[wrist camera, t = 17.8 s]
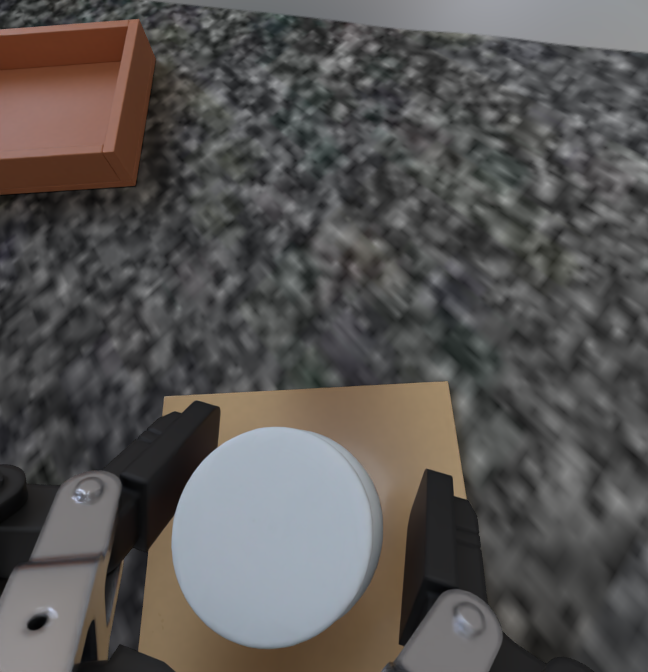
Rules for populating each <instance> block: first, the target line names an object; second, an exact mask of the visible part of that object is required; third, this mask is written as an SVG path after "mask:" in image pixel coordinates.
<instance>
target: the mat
mask: <svg viewBox="0 0 648 672" xmlns="http://www.w3.org/2000/svg"><path fill="white" fill-rule="evenodd" d="M195 400H198V401H202V402H205V403H208V404H212V405H215V406H219V407H220V410H221V415H220V426H219V438H218V447H219V446H220V445H222V444H223V443H225V442H226V441H228V440H230V439H232V438H234V437H236V436H238V435H240V434H242V433H245V432H248V431H251V430H254V429H258V428H264V427H287V428H294V429H299V430H306V431H311V432H314V433H318V434H320V435H323V436H325V437H328V438H330V439H332V440H333V441H335V442H337V443H338V444H340V445H341V446H343V447H344V448H345V449H346V450H348V451H349V452H350V453H351V454H352V455H353V456H354V457H355V458H356V459H357V460H358V462H359V463H360V464H361V465H362V466H363V467H364V469H365V470H366V472H367V473H368V475H369V476H370V478H371V480H372V481H373V484H374V486H375V488H376V491H377V493H378V496H379V500H380V504H381V509H382V515H383V542H382V549H381V554H380V558H379V562H378V565H377V568H376V570H375V572H374V575H373V578H372V580H371V582H370V584H369V586H368V587H367V589H366V591H365V592H364V594H363V595H362V596H361V598H360V599H359V600H358V602H357V603H356V604H355V605H354V606H353V607H352V608H351V610H350V611H349V612H347V613H346V614H345V615H344V616H343V617H341V618H340V619H338V620H337V621H335V622H334V623H333V624H332V625H331V626H330V627H328V628H327V629H326V630H324V631H323V632H321V633H320V634H318V635H317V636H315V637H313V638H311V639H309V640H307V641H304V642H301V643H299V644H296V645H294V646H290V647H285V648H277V649H257V648H251V647H246V646H243V645H239V644H237V643H234V642H232V641H230V640H227V639H226V638H224V637H222V636H220V635H219V634H217V633H216V632H214V631H213V630H212V629H210V628H209V627H208V626H207V625H206V624H205V623H204V622H203V621H202V620H201V619H200V618H199V617H198V616H197V615H196V613H195V612H194V611H193V609H192V608H191V606H190V605H189V604H188V602H187V600H186V598H185V596H184V594H183V593H182V590H181V588H180V585H179V583H178V580H177V577H176V573H175V569H174V565H173V557H172V548H171V541H172V528H173V520H174V516H173V518H172V519H171V520H170V522H169V523H168V524H167V526H166V527H165V528H164V530H163V531H162V532H161V534H160V535H159V536H158V538H157V539H156V540H155V542H154V543H153V544H152V546H151V547H150V548H149V552H148V561H147V571H146V581H145V591H144V601H143V610H142V620H141V630H140V640H139V649H138V652H141V653H143V654H146V655H148V656H151V657H153V658H156V659H158V660H161V661H163V662H165V663H166V664H167V665H169V666H170V667H171V668H172V669H173V670H174V671H176V672H381V671H382V669H383V668H384V667H385V666H386V664H387V663H388V662H390V661H391V662H393V661H394V660H395V659H396V658H397V656H398V655H399V653H400V652H401V651H402V649H403V648H404V646H402V645H399V631H400V618H401V604H402V591H403V578H404V565H405V552H406V538H407V527H408V521H409V516H410V512H411V509H412V506H413V503H414V500H415V497H416V494H417V491H418V488H419V485H420V482H421V479H422V476H423V473H424V471H425V469H426V468H427V469H430V470H434V471H437V472H441V473H444V474H447V475H451V476H452V477H453V488H454V496H456V497H460V498H463V499H466V500H467V497H466V491H465V485H464V479H463V472H462V466H461V460H460V454H459V447H458V441H457V435H456V428H455V422H454V416H453V410H452V403H451V397H450V391H449V385H448V382H447V381H444V382H425V383H406V384H388V385H369V386H351V387H332V388H314V389H295V390H276V391H258V392H239V393H221V394H202V395H183V396H165V397H164V405H163V415H162V416H165V415H167V414H169V413H171V412H173V411H176V412H180V413H182V412H183V411H184V410H185V409H186V408H187V407H188V406H189V405H190V404H191V403H192V402H194V401H195Z"/></svg>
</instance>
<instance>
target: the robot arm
mask: <svg viewBox="0 0 648 672" xmlns="http://www.w3.org/2000/svg"><path fill="white" fill-rule="evenodd" d="M220 415H221V410H220V407H219V406H215V405H212V404H208V403H205V402H202V401H198V400H195V401H194V402H192V403H191V404H190V405H189V406H188V407H187V408H186V409H185V410H184V411H183V412H182V413H180V412H176V411H173V412H171V413H169V414H167V415H165V416H162V417H160V418H158V419H157V420H156V421H155V422H154V423H153V424H152V425H151V426H150V427H148V428H147V431H144V432H143V433H142V434H141V435H140V436H139V437H138V439H135V440H134V441H133V442H132V443H131V444H130V445H129V446H128V447H127V448H125V449H124V450H123V451H122V452H121V453H120V454H119V455H118V456H117V457H116V458H115V459H113V460H112V461H111V462H110V463H109V464H108V465H107V466H106V467H105V468H104V469H103V470H101V471H99V470H95V471H88V472H83V473H80V474H78V475H75V476H73V477H71V478H70V479H68V480H67V481H65V482H64V483H63V484H62V485H38V484H26V477H25V473H24V471H23V470H22V469H20V468H19V467H16V466H13V465H5V464H2V465H0V672H176V671H174V670H173V669H172V668H171V667H170V666H169V665H167V664H166V663H165V662H163V661H161V660H158V659H156V658H153V657H151V656H148V655H146V654H143V653H141V652H138V651H136V650H133V649H131V648H128V647H126V646H123V645H121V644H119V646H118V648H117V649H116V651H115V652H114V654H113V655H112V657H111V658H110V660H108V648H109V640H110V634H111V628H112V623H113V618H114V613H115V607H116V602H117V597H118V592H119V586H120V581H121V576H122V571H123V564H124V561H123V559H124V558H125V556H126V555H127V554H128V553H129V551H130V550H131V549H132V548H135V549H138V550H141V551H144V552H147V551H148V550H149V548H150V547H151V546H152V544H153V543H154V542H155V540H156V539H157V538H158V536H159V535H160V534H161V532H162V531H163V530H164V528H165V527H166V526H167V524H168V523H169V522H170V520H171V519H172V518H173V516H174V515H175V512H176V508H177V505H178V502H179V499H180V497H181V494H182V492H183V490H184V488H185V486H186V484H187V482H188V481H189V479H190V477H191V476H192V474H193V473H194V471H195V470H196V469H197V467H198V466H199V465H200V464H201V462H202V461H203V460H204V459H205V458H206V457H207V456H208V455H209V454H210V453H211V452H213V451H214V450H215V449H216V448H218V438H219V426H220ZM480 547H481V544H480V536H479V528H478V520H477V515H476V513H475V512H474V510H473V508H472V506H471V505H470V503H469V501H468V500H466V499H463V498H460V497H456V496H454V488H453V477H452V476H451V475H447V474H444V473H441V472H437V471H434V470H430V469H427V468H426V469H425V471H424V473H423V476H422V479H421V482H420V485H419V488H418V491H417V494H416V497H415V500H414V503H413V506H412V509H411V512H410V516H409V521H408V527H407V538H406V552H405V565H404V578H403V591H402V604H401V618H400V631H399V645H402V646H404V648H403V649H402V651H401V652H400V653H399V655H398V656H397V658H396V659H395V660H394V661H393V662H391V661H390V662H388V663H387V664H386V666H385V667H384V668H383V669H382V671H381V672H594V671H593V670H591V669H590V668H589V667H587V666H586V665H584V664H582V663H580V662H578V661H576V660H574V659H571V658H566V657H557V658H554V659H552V660H550V661H549V662H548V664H546V663H544V662H543V661H541V660H540V659H538V658H537V657H535V656H534V655H532V654H531V653H529V652H528V651H526V650H525V649H523V648H521V647H520V646H519V645H517V644H516V643H515V642H513V641H512V640H511V639H510V638H509V637H508V636H507V635H506V634H505V633H504V632H503V631H502V629H501V625H500V623H499V620H498V618H497V616H496V615H495V613H494V612H493V610H492V609H491V608H490V607H489V606H488V602H487V594H486V586H485V578H484V569H483V561H482V553H481V549H480Z"/></svg>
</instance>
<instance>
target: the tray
mask: <svg viewBox="0 0 648 672" xmlns="http://www.w3.org/2000/svg"><path fill="white" fill-rule="evenodd" d="M155 60H156V58H155V56H154V54H153V51H152V49H151V47H150V44H149V42H148V39H147V37H146V34H145V32H144V30H143V27H142V25H141V22H140V20H139V19H135V20H121V21H108V22H95V23H82V24H69V25H55V26H42V27H29V28H16V29H3V30H0V195H5V194H20V193H35V192H50V191H65V190H81V189H96V188H111V187H126V186H135V185H136V180H137V173H138V167H139V161H140V154H141V148H142V142H143V136H144V129H145V123H146V117H147V111H148V104H149V98H150V92H151V86H152V79H153V73H154V67H155Z"/></svg>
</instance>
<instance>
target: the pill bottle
mask: <svg viewBox="0 0 648 672" xmlns="http://www.w3.org/2000/svg"><path fill="white" fill-rule="evenodd" d="M382 542H383V515H382V509H381V504H380V500H379V496H378V493H377V491H376V488H375V486H374V484H373V481H372V480H371V478H370V476H369V475H368V473H367V472H366V470H365V469H364V467H363V466H362V465H361V464H360V463H359V462H358V460H357V459H356V458H355V457H354V456H353V455H352V454H351V453H350V452H349V451H348V450H346V449H345V448H344V447H343V446H341V445H340V444H338V443H337V442H335V441H333V440H332V439H330V438H328V437H325V436H323V435H320V434H318V433H314V432H311V431H306V430H299V429H294V428H287V427H264V428H258V429H254V430H251V431H248V432H245V433H242V434H240V435H238V436H236V437H234V438H232V439H230V440H228V441H226V442H225V443H223V444H222V445H220V446H219V447H218V448H216V449H215V450H214V451H213V452H211V453H210V454H209V455H208V456H207V457H206V458H205V459H204V460H203V461H202V462H201V464H200V465H199V466H198V467H197V469H196V470H195V471H194V473H193V474H192V476H191V477H190V479H189V481H188V482H187V484H186V486H185V488H184V490H183V492H182V494H181V497H180V499H179V502H178V505H177V508H176V512H175V515H174V520H173V528H172V541H171V548H172V557H173V565H174V569H175V573H176V577H177V580H178V583H179V585H180V588H181V590H182V593H183V594H184V596H185V598H186V600H187V602H188V604H189V605H190V606H191V608H192V609H193V611H194V612H195V613H196V615H197V616H198V617H199V618H200V619H201V620H202V621H203V622H204V623H205V624H206V625H207V626H208V627H209V628H210V629H212V630H213V631H214V632H216V633H217V634H219V635H220V636H222V637H224V638H226V639H227V640H230V641H232V642H234V643H237V644H239V645H243V646H246V647H251V648H257V649H277V648H285V647H290V646H294V645H296V644H299V643H301V642H304V641H307V640H309V639H311V638H313V637H315V636H317V635H318V634H320V633H321V632H323V631H324V630H326V629H327V628H328V627H330V626H331V625H332V624H333V623H334V622H335V621H337V620H338V619H340V618H341V617H343V616H344V615H345V614H346V613H347V612H349V611H350V610H351V608H352V607H353V606H354V605H355V604H356V603H357V602H358V600H359V599H360V598H361V596H362V595H363V594H364V592H365V591H366V589H367V587H368V586H369V584H370V582H371V580H372V578H373V575H374V572H375V570H376V568H377V565H378V562H379V558H380V554H381V549H382Z"/></svg>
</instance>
